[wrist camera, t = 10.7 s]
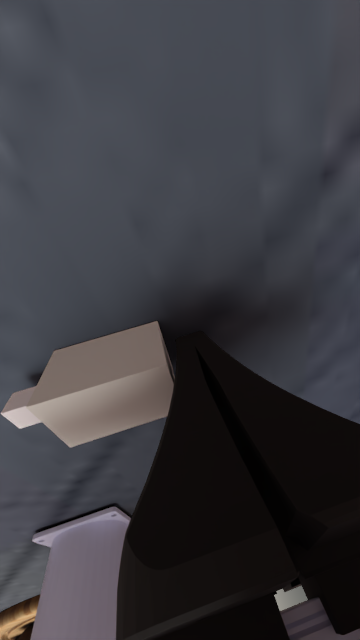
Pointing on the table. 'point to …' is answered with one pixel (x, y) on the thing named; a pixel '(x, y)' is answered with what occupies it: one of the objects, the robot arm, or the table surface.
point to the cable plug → (99, 387)
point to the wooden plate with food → (19, 620)
